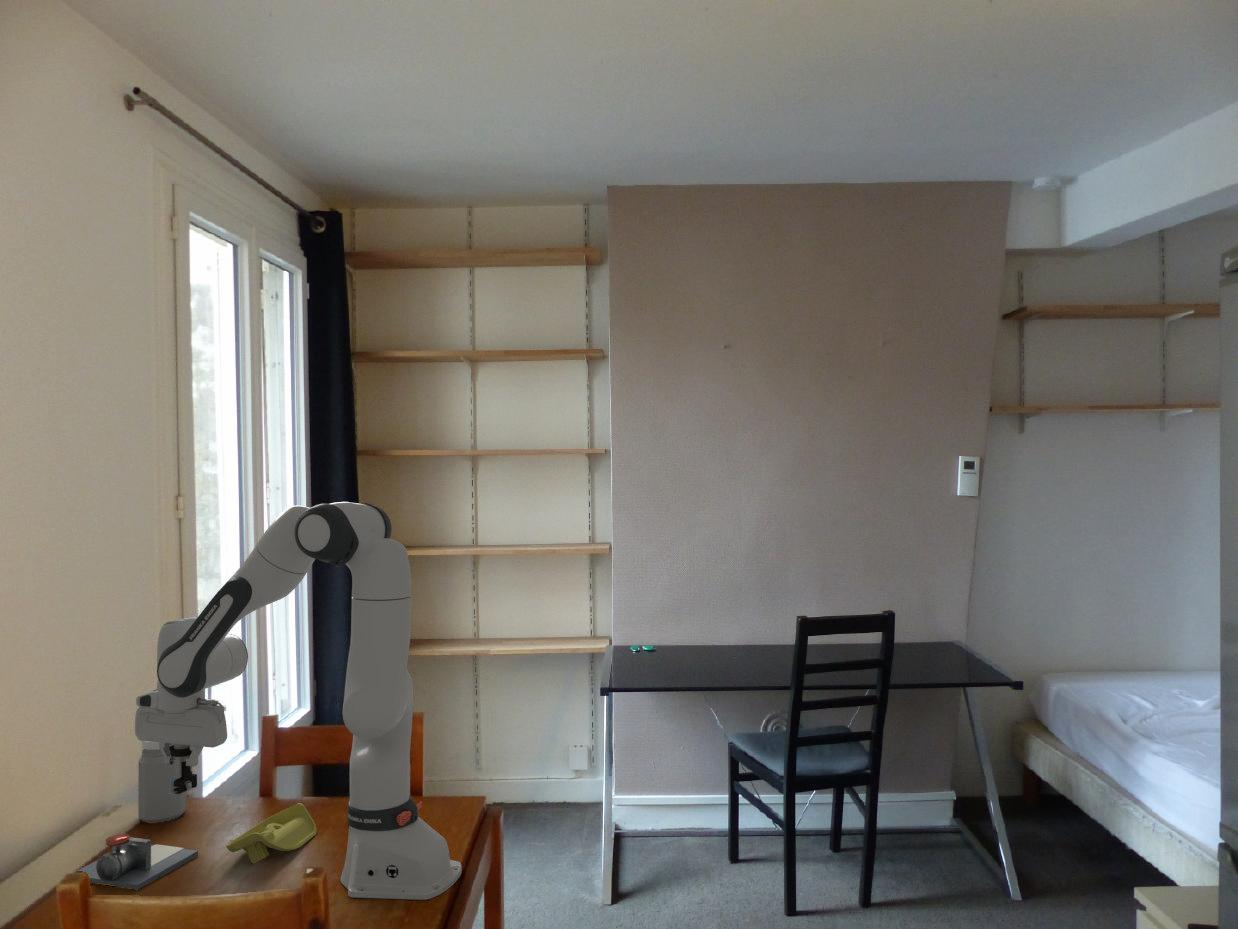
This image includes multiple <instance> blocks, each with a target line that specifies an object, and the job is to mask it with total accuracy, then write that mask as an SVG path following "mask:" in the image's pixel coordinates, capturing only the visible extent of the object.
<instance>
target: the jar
mask: <svg viewBox="0 0 1238 929" xmlns="http://www.w3.org/2000/svg"><path fill="white" fill-rule="evenodd" d="M172 745H174V744H172ZM172 745H170V746H172ZM141 749H142V750H141V755H140V756H139V758H138V787H137V788H138V790H137V791H138V799H137V802H138V804H137V805H138V808H137V810H138V818H139V819H140V820H141V822H143V823H146V822H147V824H149V823H148V822H153V823H152V824H155V823H154V822H161V823H166V822H165V821H167V822H170V821H173V820H175V818H176V819H178V818H179V817H181V816H182V815H183V814H184V813H185V811H186V810H187V791H185V792H183V793H181V794H175V793H173V794H171V792H172V790H168V789H169V788H171V787H172V780H174V779H175V774H176V763H174V764H172V765H170V764H164V756H163V754H162V752H161V750H160V748H159V742H150V741H141ZM168 793H170V794H171V795H169V794H168ZM172 819H173V820H172Z"/></svg>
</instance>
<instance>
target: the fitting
mask: <svg viewBox="0 0 1238 929" xmlns="http://www.w3.org/2000/svg"><path fill="white" fill-rule="evenodd" d="M151 845H152V840H151V839H145V838H138V837H132V836H131V834H129V833H117V834H112V835H111V836H109V837H107V838H106V839H105V846H108V847H112V848H111V850H112V851H111V852H107V853H104V854H103V855H101V856H99V858H98V859H97V860H98V861H97V860H96V861H97V864H96V870H97V874H98V876H99V877H100V878H101V879H102V880H107V881H108V882H111V881H113V880H115V879H117V878H118V877H119V876H120V875H121V874H123V873H125V872H127V871H128V870H130V869H135V870H142V871H147V870H149V869H151Z"/></svg>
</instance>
